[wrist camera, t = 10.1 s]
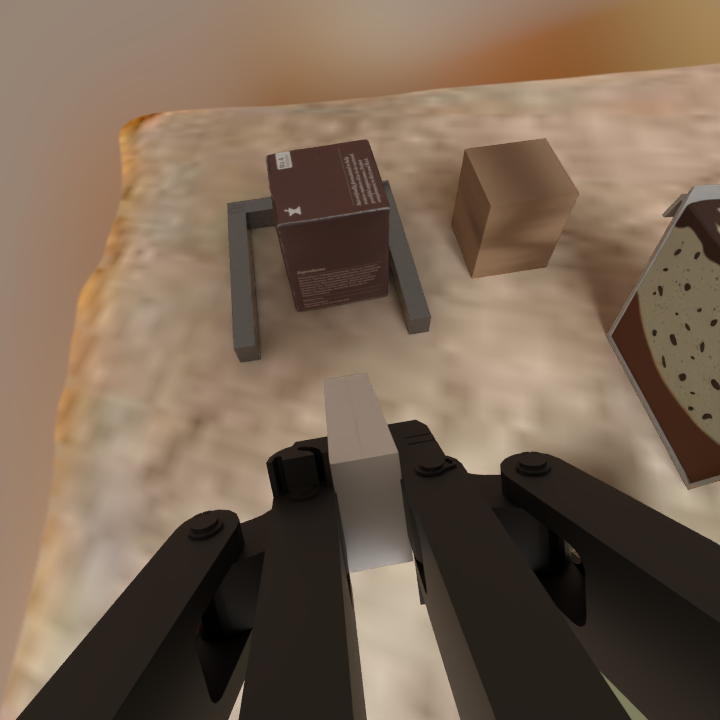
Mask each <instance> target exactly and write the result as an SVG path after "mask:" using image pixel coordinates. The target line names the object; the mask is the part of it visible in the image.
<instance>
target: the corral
mask: <svg viewBox="0 0 720 720" xmlns="http://www.w3.org/2000/svg"><path fill="white" fill-rule="evenodd" d="M382 183H383V186H384V188H385V192H386V195H387V198H388V202H389V205H390V214H389V264H390V267H391V271H392V275H393V278H394V282H395V285H396V289H397V293H398V296H399V300H400V303H401V307H402V311H403V314H404V318H405V321H406V325H407V329H408V332H409V335H410V334H416V333H422V332H428V331H429V325H430V319H431V315H430V312H429V309H428V306H427V303H426V299H425V296H424V293H423V290H422V287H421V284H420V280H419V277H418V274H417V271H416V268H415V264H414V261H413V258H412V255H411V252H410V249H409V245H408V242H407V239H406V236H405V233H404V229H403V226H402V223H401V220H400V217H399V213H398V210H397V207H396V204H395V201H394V198H393V194H392V191H391V188H390V185H389V182H388V180H386V181H382ZM227 206H228V228H229V251H230V273H231V295H232V318H233V340H234V350H235V352H236V354H237V356H238V358H239V360H240V362H246V361H252V360H258V359H261V356H260V343H259V331H258V318H257V305H256V292H255V280H254V267H253V254H252V242H251V229H254V228H261V227H268V226H275V221H274V214H273V206H272V199H271V197H268V198H261V199H254V200H247V201H240V202H233V203H227Z"/></svg>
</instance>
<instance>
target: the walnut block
mask: <svg viewBox="0 0 720 720" xmlns="http://www.w3.org/2000/svg"><path fill="white" fill-rule="evenodd" d="M578 195H579V192H578V190H577V189H576V187H575V186H574V184H573V182H572V181H571V179H570V177H569V176H568V174H567V172H566V171H565V169H564V167H563V166H562V164H561V163H560V161H559V159H558V158H557V156H556V154H555V153H554V151H553V149H552V148H551V146H550V145H549V143H548V141H547V140H546V138H544V139H536V140H529V141H521V142H514V143H507V144H499V145H492V146H484V147H477V148H470V149H465V152H464V158H463V163H462V169H461V174H460V180H459V186H458V191H457V197H456V202H455V208H454V213H453V219H452V228H453V230H454V233H455V236H456V238H457V241H458V243H459V246H460V249H461V251H462V254H463V257H464V259H465V262H466V264H467V267H468V270H469V272H470V275H471V277H472V278H479V277H485V276H492V275H498V274H505V273H511V272H518V271H524V270H531V269H537V268H544V267H546V266H547V264H548V261H549V259H550V257H551V255H552V253H553V250H554V248H555V246H556V244H557V241H558V239H559V237H560V235H561V233H562V230H563V228H564V226H565V224H566V221H567V219H568V217H569V215H570V213H571V210H572V208H573V206H574V204H575V201H576V199H577V197H578Z"/></svg>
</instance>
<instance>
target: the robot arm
mask: <svg viewBox="0 0 720 720" xmlns="http://www.w3.org/2000/svg"><path fill="white" fill-rule="evenodd" d="M324 391H325V405H326V420H327V435H328V436H327V437H322V438H316V439H310V440H304V441H299V442H295V443H294V445H293V446H292V447H288V448H285V449H283V450H281V451H278V452H277V453H275V454H274V455H272V456H271V457H270V458H269V459H268V461H267V463H266V464H267V469H268V474H269V478H270V483H271V488H272V492H273V497H274V498H273V505H272V509H271V510H270V511H268V512H266V513H265V514H263V515H261V516H259V517H257V518H254V519H252V520H249V521H246V522H244V523H241V524H240V521H239V518H238V516H237V514H236V513H234V512H232V511H230V510H215V511H206V512H203V513H200V514H197V515H195V516H194V517H193V518H191V519H189V520H187V521H186V522H184V523H183V524H182V525H181V526H179V527H178V528H177V529H176V530H175V531H174V532H173V534H172V535H171V536H170V537H169V538H168V540H167V541H166V542H165V543H164V544H163V546H162V547H161V548H160V549H159V550H158V551H157V553H156V554H155V555H154V556H153V557H152V559H151V560H150V561H149V562H148V563H147V565H146V566H145V567H144V568H143V569H142V570H141V572H140V573H139V574H138V575H137V576H136V578H135V579H134V580H133V581H132V582H131V583H130V585H129V586H128V587H127V588H126V589H125V591H124V592H123V593H122V594H121V595H120V597H119V598H118V599H117V600H116V601H115V602H114V604H113V605H112V606H111V607H110V608H109V610H108V611H107V612H106V613H105V614H104V616H103V617H102V618H101V619H100V620H99V621H98V623H97V624H96V625H95V626H94V627H93V629H92V630H91V631H90V632H89V633H88V635H87V636H86V637H85V638H84V639H83V640H82V642H81V643H80V644H79V645H78V646H77V648H76V649H75V650H74V651H73V652H72V654H71V655H70V656H69V657H68V658H67V659H66V661H65V662H64V663H63V664H62V665H61V667H60V668H59V669H58V670H57V671H56V673H55V674H54V675H53V676H52V677H51V678H50V680H49V681H48V682H47V683H46V684H45V686H44V687H43V688H42V689H41V690H40V692H39V693H38V694H37V695H36V696H35V697H34V699H33V700H32V701H31V702H30V703H29V705H28V706H27V707H26V708H25V709H24V711H23V712H22V713H21V714H20V715H19V716H18V718H17V719H16V720H228V719H229V716H230V714H231V711H232V709H233V707H234V704H235V702H236V699H237V697H238V694H239V692H240V690H241V687H242V685H243V682H244V680H245V683H244V689H243V695H242V702H241V708H240V714H239V720H367V718H366V709H365V700H364V691H363V682H362V673H361V664H360V655H359V646H358V638H357V629H356V620H355V611H354V602H353V593H352V586H351V580H350V574H349V573H352V572H357V571H362V570H368V569H373V568H378V567H383V566H389V565H394V564H399V563H404V562H410V561H413V556H412V550H413V553H414V559H415V566H416V574H417V581H418V588H419V596H420V603H421V605H422V604H426V607H427V611H428V614H429V617H430V621H431V624H432V627H433V630H434V634H435V637H436V640H437V644H438V647H439V650H440V653H441V657H442V660H443V663H444V667H445V670H446V673H447V676H448V680H449V683H450V686H451V690H452V693H453V696H454V699H455V703H456V706H457V709H458V713H459V716H460V719H461V720H632V719H631V718H630V716H629V715H628V713H627V712H626V710H625V709H624V707H623V706H622V704H621V703H620V701H619V700H618V698H617V697H616V695H615V694H614V692H613V691H612V689H611V688H610V686H609V685H608V683H607V682H606V680H605V679H604V677H603V676H602V674H603V675H604V676H605V677H606V678H607V679H608V680H609V681H610V682H611V683H612V684H613V685H614V686H615V687H616V688H617V689H618V690H619V691H620V692H621V693H622V694H623V695H624V696H625V697H626V698H627V699H628V700H629V701H630V702H631V703H632V704H633V705H634V706H635V707H636V708H637V709H638V710H639V711H640V712H641V713H642V714H643V715H644V716H645V717H646V718H647V719H648V720H720V545H719V544H717V543H715V542H713V541H712V540H710V539H708V538H706V537H704V536H702V535H700V534H699V533H697V532H695V531H693V530H691V529H689V528H687V527H686V526H684V525H682V524H680V523H678V522H676V521H674V520H673V519H671V518H669V517H667V516H665V515H663V514H661V513H660V512H658V511H656V510H654V509H652V508H650V507H648V506H647V505H645V504H643V503H641V502H639V501H637V500H635V499H634V498H632V497H630V496H628V495H626V494H624V493H622V492H621V491H619V490H617V489H615V488H613V487H611V486H609V485H608V484H606V483H604V482H602V481H600V480H598V479H596V478H595V477H593V476H591V475H589V474H587V473H585V472H583V471H582V470H580V469H578V468H576V467H574V466H572V465H570V464H569V463H567V462H565V461H563V460H561V459H559V458H557V457H554V456H551V455H549V454H543V453H539V452H531V453H529V452H523V453H520V454H516V455H512V456H510V457H508V458H506V459H504V461H503V462H502V463H501V464H500V467H501V475H476V474H470V473H467V471H466V470H465V468H464V467H463V465H462V463H460V462H459V461H458V460H457V459H455V458H452V457H449V456H445V454H444V452H443V451H442V449H441V448H440V446H439V444H438V443H437V441H435V438H434V436H433V435H432V434H431V432H430V430H429V428H428V427H427V425H425V424H423V423H421V422H419V421H417V420H412V421H406V422H400V423H394V424H389V425H387V423H386V421H385V418H384V416H383V413H382V411H381V408H380V406H379V403H378V401H377V398H376V396H375V393H374V391H373V388H372V386H371V383H370V381H369V378H368V376H367V373H362V374H356V375H350V376H344V377H338V378H332V379H326V380H324ZM571 546H572V547H573V548H574V549H575V550H576V552H577V553H578V555H579V556H580V558H581V559H580V558H578V557H577V556H576V555H575V554H573V553H572V552H571ZM411 547H412V548H411ZM600 672H601V673H602V674H601V673H600Z"/></svg>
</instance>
